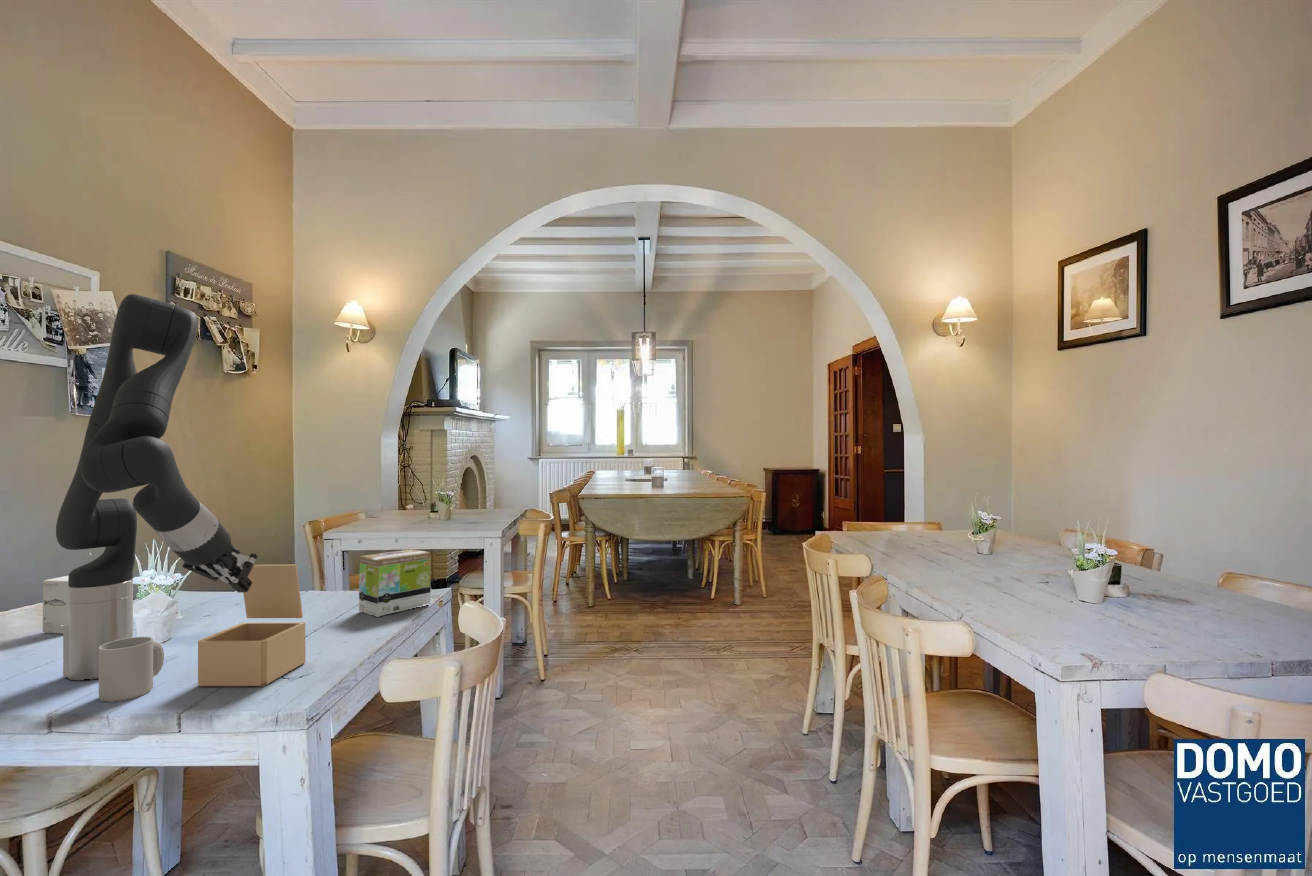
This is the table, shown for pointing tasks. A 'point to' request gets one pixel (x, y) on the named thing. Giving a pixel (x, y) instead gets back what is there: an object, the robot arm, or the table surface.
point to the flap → (273, 592)
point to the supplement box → (55, 605)
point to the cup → (128, 668)
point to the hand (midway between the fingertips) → (245, 588)
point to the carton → (250, 654)
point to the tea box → (394, 581)
